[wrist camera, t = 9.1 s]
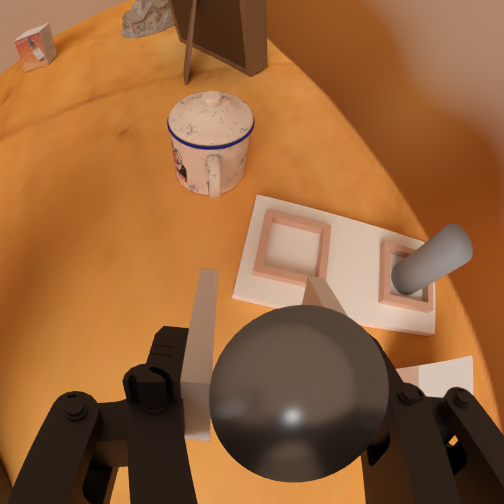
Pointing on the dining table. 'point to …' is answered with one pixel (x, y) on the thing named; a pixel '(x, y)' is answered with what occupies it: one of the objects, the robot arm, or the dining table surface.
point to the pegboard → (347, 265)
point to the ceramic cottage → (147, 18)
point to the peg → (298, 393)
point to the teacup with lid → (210, 141)
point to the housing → (440, 376)
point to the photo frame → (223, 31)
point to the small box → (36, 48)
